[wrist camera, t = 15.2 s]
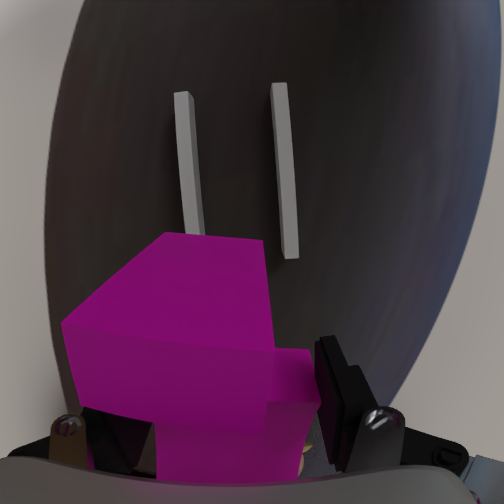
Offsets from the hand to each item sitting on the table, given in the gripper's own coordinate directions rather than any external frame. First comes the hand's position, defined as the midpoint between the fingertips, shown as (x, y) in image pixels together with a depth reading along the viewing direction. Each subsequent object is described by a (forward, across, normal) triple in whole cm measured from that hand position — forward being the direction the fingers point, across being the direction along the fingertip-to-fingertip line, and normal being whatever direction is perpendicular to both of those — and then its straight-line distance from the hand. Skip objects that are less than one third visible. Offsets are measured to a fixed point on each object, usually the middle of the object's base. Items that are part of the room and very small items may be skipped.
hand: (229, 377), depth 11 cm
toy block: (+2, 0, +2) cm, 3 cm away
